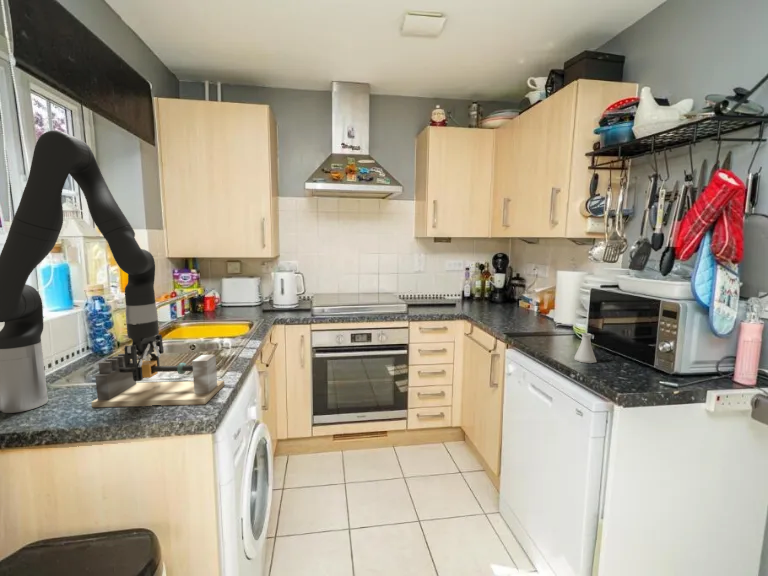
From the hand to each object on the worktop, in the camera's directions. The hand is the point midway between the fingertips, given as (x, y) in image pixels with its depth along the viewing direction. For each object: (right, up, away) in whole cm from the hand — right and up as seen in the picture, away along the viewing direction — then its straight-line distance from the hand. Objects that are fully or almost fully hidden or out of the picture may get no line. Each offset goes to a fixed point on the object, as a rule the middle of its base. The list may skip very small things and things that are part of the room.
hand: (147, 375), depth 108 cm
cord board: (+4, -6, +1) cm, 7 cm away
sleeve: (0, 0, 0) cm, 0 cm away
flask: (+142, -2, +29) cm, 145 cm away
